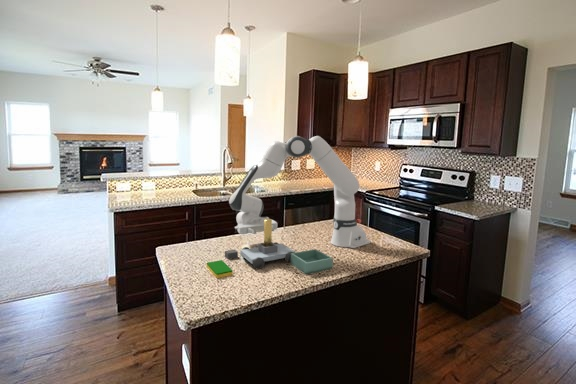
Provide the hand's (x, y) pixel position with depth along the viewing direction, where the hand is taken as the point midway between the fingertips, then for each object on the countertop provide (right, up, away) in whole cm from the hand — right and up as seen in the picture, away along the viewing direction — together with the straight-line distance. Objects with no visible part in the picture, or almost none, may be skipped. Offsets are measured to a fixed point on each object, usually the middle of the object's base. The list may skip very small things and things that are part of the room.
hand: (263, 231), depth 155 cm
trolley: (+2, -13, -2) cm, 14 cm away
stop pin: (+2, -9, -3) cm, 10 cm away
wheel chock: (-16, -13, +1) cm, 20 cm away
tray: (+22, -15, -9) cm, 28 cm away
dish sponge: (-18, -16, -15) cm, 28 cm away
